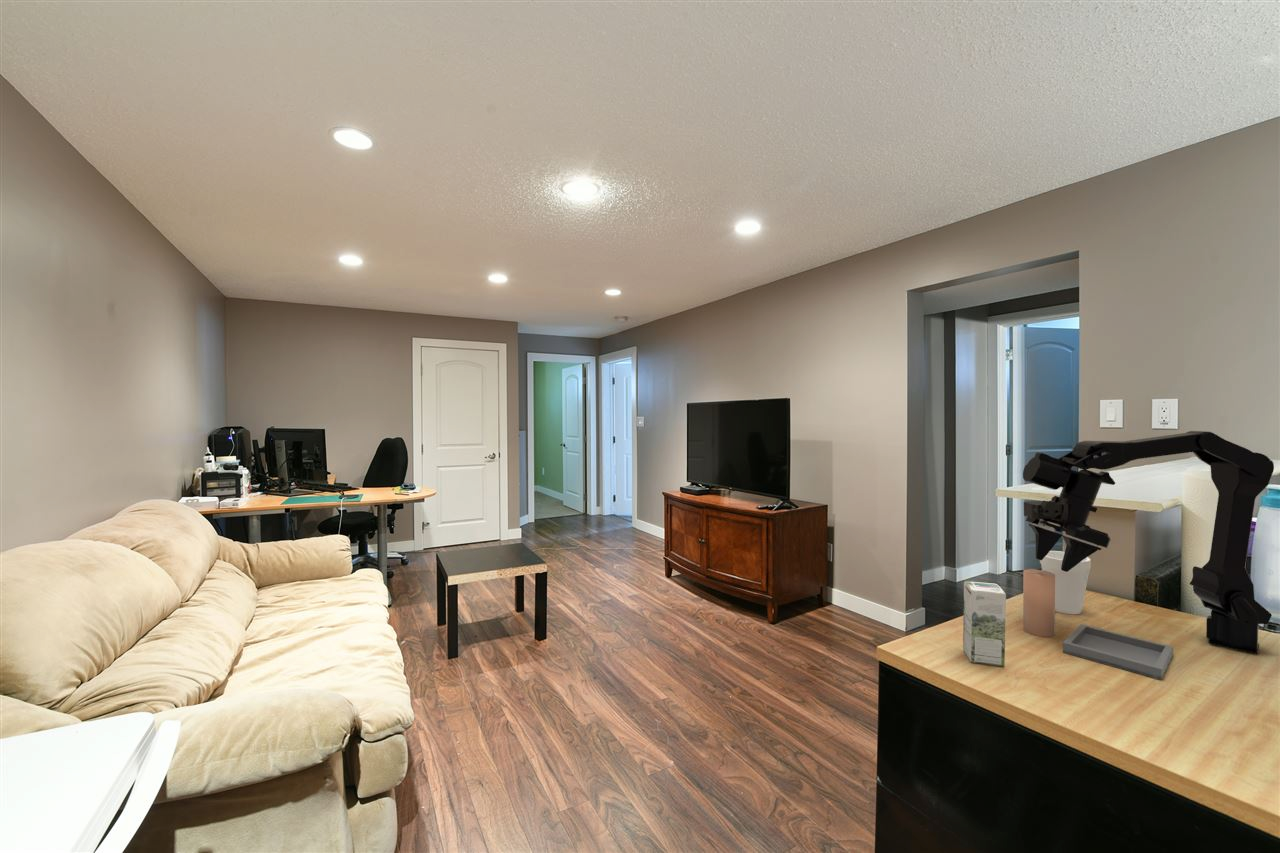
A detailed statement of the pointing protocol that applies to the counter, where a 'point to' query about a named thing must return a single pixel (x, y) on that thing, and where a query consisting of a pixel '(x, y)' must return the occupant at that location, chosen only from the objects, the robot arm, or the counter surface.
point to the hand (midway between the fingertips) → (1050, 564)
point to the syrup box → (984, 623)
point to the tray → (1119, 651)
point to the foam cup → (1067, 582)
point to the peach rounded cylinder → (1039, 602)
